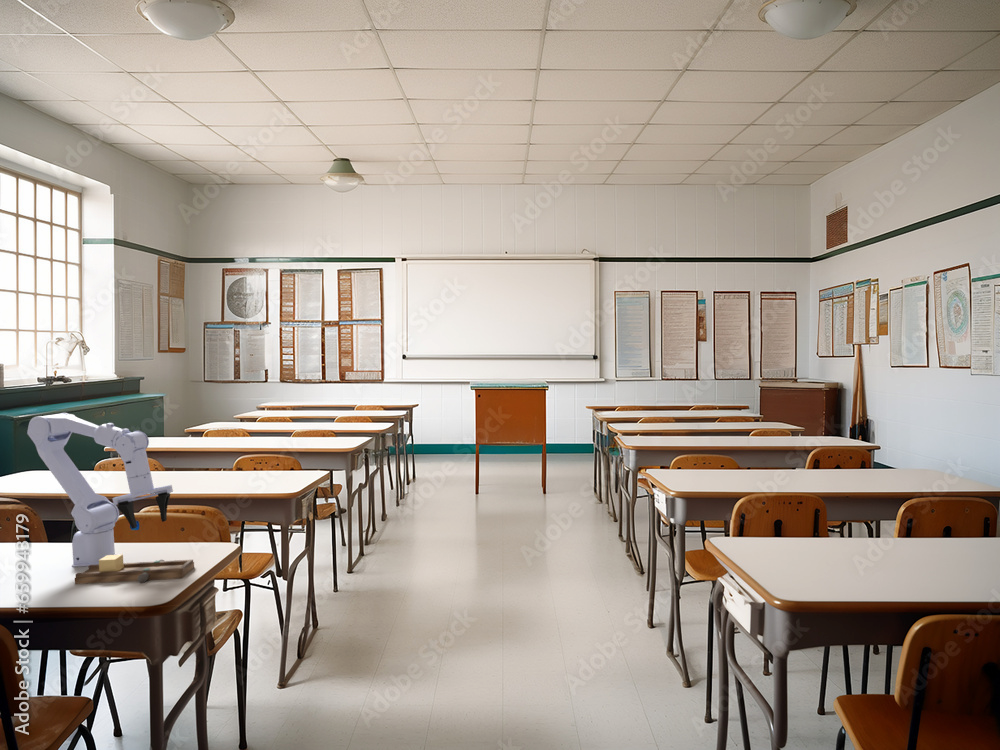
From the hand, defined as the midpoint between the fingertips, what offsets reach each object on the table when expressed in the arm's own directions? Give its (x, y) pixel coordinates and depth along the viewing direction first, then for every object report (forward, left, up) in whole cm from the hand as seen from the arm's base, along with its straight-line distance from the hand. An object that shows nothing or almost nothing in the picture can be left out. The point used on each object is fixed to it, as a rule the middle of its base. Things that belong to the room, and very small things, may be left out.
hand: (149, 524), depth 178 cm
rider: (-5, -10, -9) cm, 15 cm away
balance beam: (+1, -10, -11) cm, 15 cm away
